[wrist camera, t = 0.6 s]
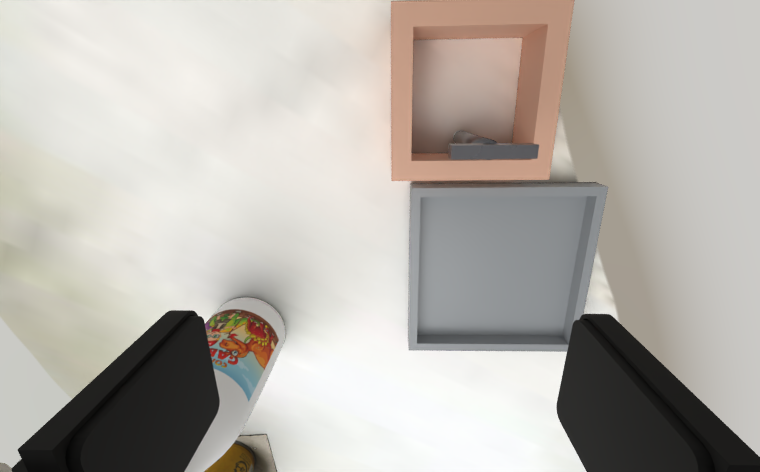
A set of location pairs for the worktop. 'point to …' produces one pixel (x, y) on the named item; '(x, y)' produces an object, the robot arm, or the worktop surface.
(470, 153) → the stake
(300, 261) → the worktop surface
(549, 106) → the ring
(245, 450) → the condiment
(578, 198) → the tray
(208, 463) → the milk bottle
